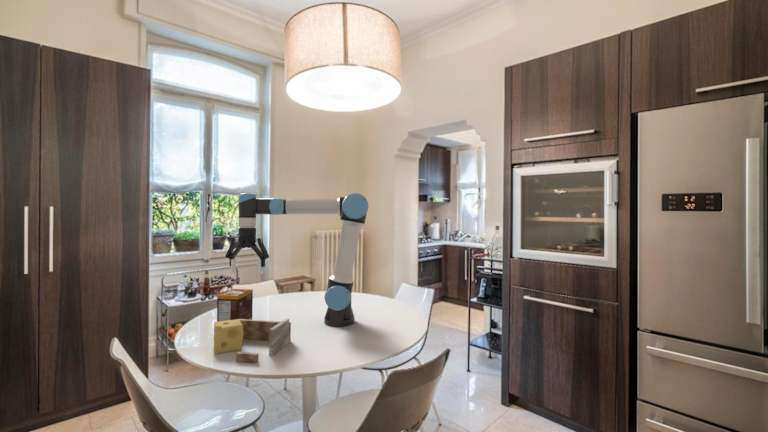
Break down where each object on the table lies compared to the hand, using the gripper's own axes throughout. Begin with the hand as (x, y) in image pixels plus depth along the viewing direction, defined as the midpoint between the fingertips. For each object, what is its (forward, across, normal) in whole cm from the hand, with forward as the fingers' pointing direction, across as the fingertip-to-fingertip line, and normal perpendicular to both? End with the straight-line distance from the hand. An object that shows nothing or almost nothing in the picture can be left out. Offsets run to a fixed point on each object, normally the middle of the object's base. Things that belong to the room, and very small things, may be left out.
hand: (247, 273), depth 163 cm
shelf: (+27, -12, +19) cm, 35 cm away
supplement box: (+27, +12, -10) cm, 31 cm away
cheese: (+27, -3, +19) cm, 33 cm away
